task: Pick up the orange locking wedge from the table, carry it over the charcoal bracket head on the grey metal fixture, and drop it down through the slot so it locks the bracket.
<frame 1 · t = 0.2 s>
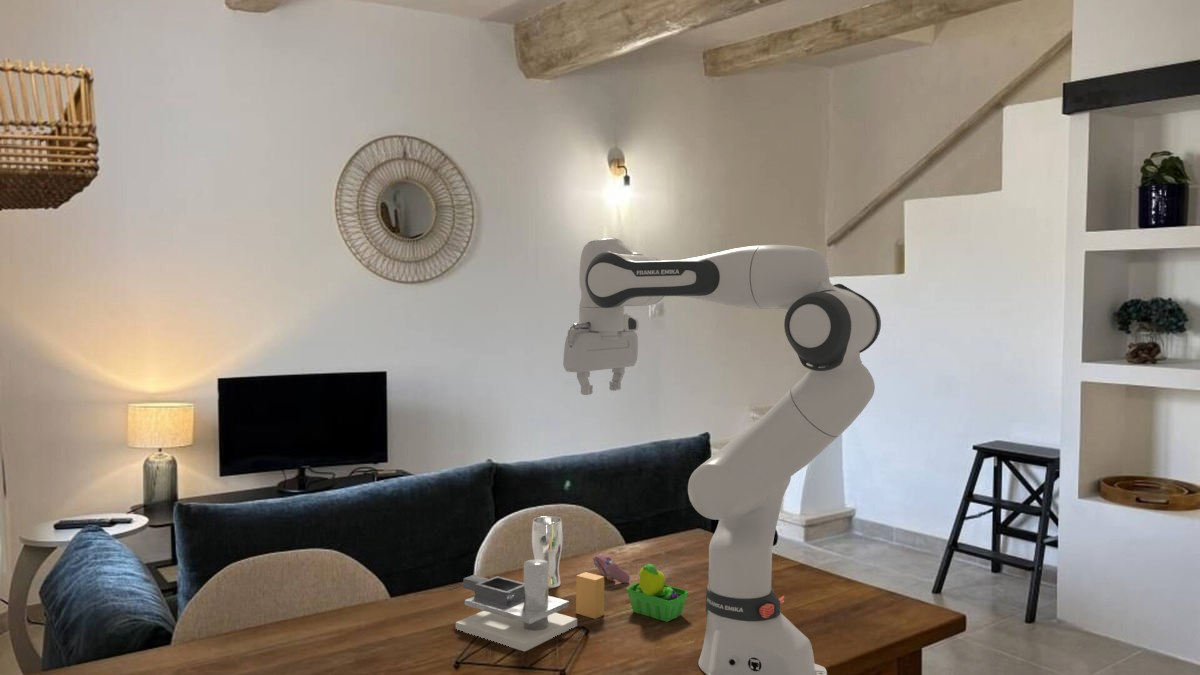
hand: (601, 392, 177), 47 cm above the table, tool pointing down, fingers open, 8 cm apart
locking wedge: (590, 613, 187), on the table
grey metal fixture: (507, 587, 180), on the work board, point 8 cm above the table
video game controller: (610, 579, 210), on the table
fruit basket: (655, 615, 187), on the table
beer glass: (547, 585, 205), on the table
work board: (516, 627, 179), on the table
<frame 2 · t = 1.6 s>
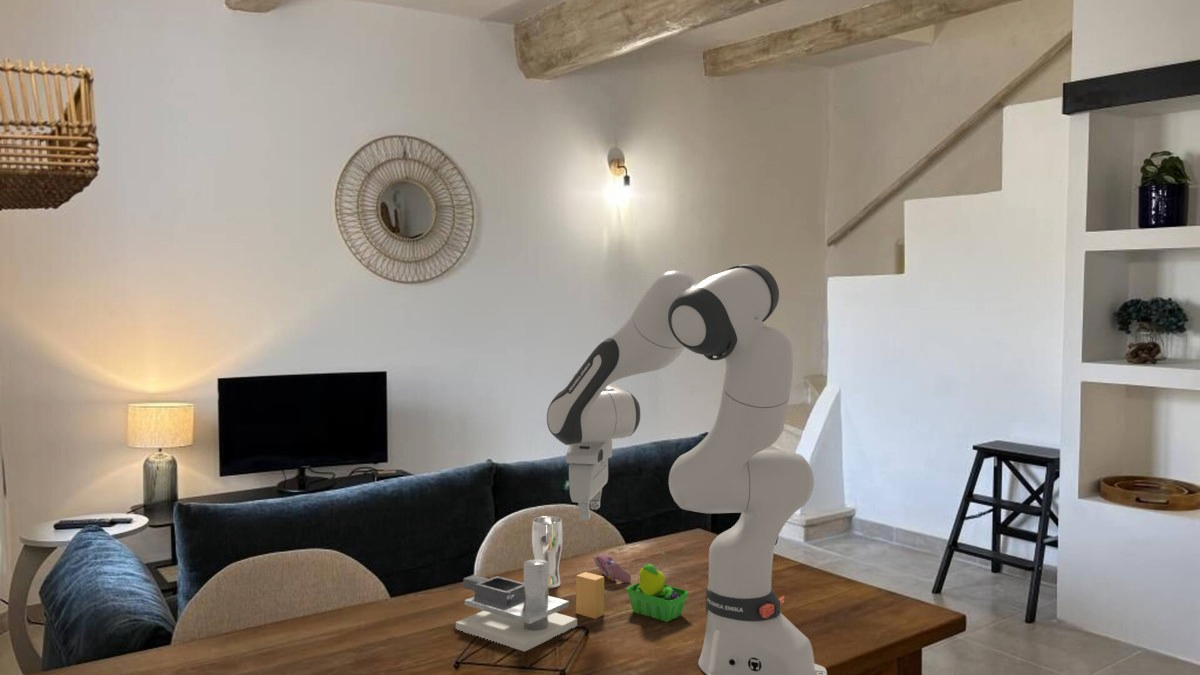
hand: (590, 514, 186), 21 cm above the table, tool pointing down, fingers open, 8 cm apart
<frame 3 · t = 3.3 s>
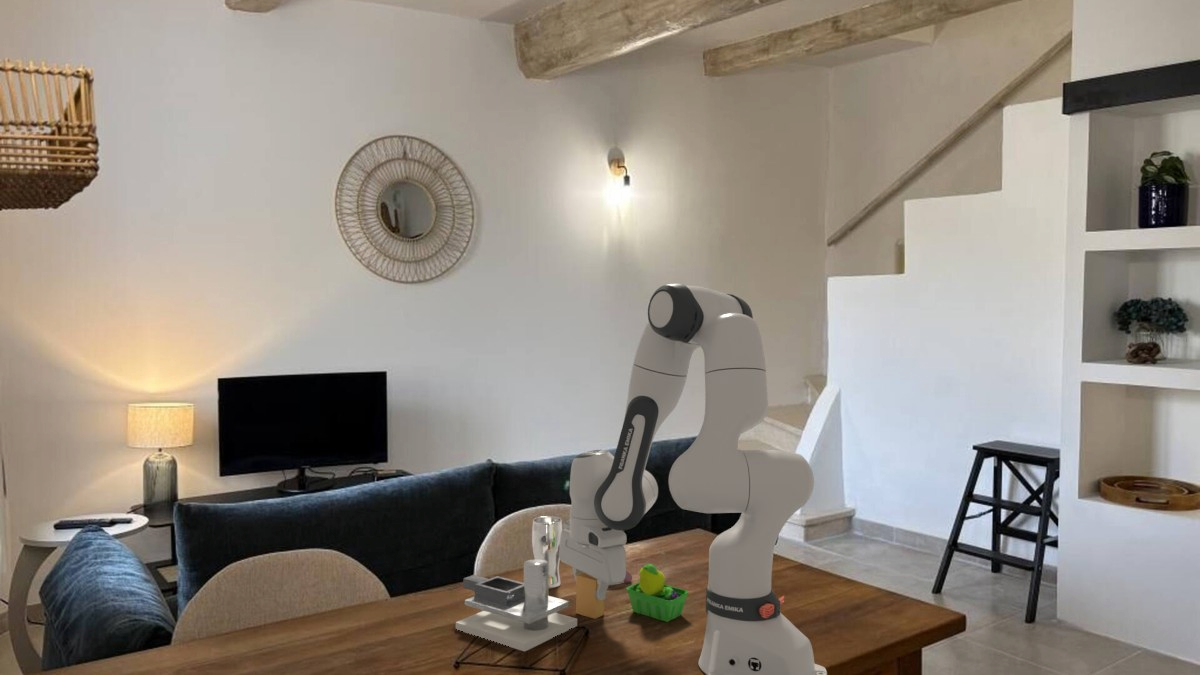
hand: (590, 593, 187), 4 cm above the table, tool pointing down, fingers closed on locking wedge, 6 cm apart
locking wedge: (590, 613, 187), on the table, touching gripper
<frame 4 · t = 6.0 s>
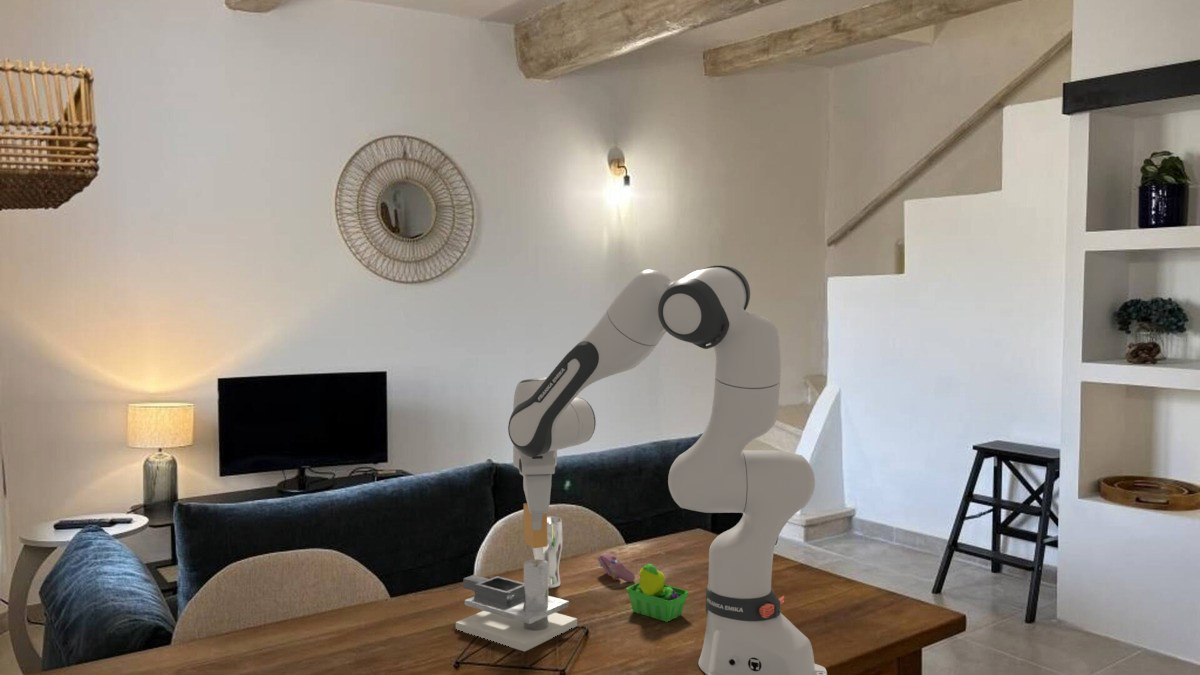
hand: (535, 524, 182), 20 cm above the table, tool pointing down, fingers closed on locking wedge, 6 cm apart
locking wedge: (535, 543, 183), point 16 cm above the table, touching gripper
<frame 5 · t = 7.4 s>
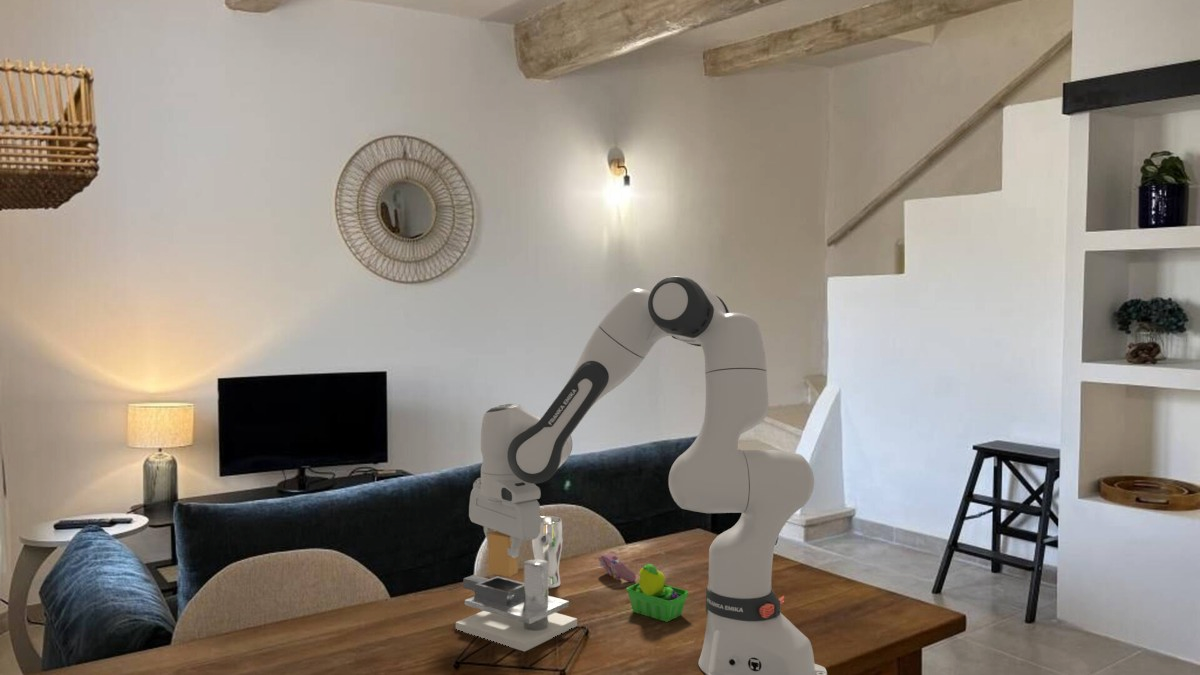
hand: (503, 552, 181), 14 cm above the table, tool pointing down, fingers closed on locking wedge, 6 cm apart
locking wedge: (503, 572, 181), point 10 cm above the table, touching gripper
when the fingers open (11 cm above the table, at t = 8.5 s): locking wedge drops 5 cm, resting on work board.
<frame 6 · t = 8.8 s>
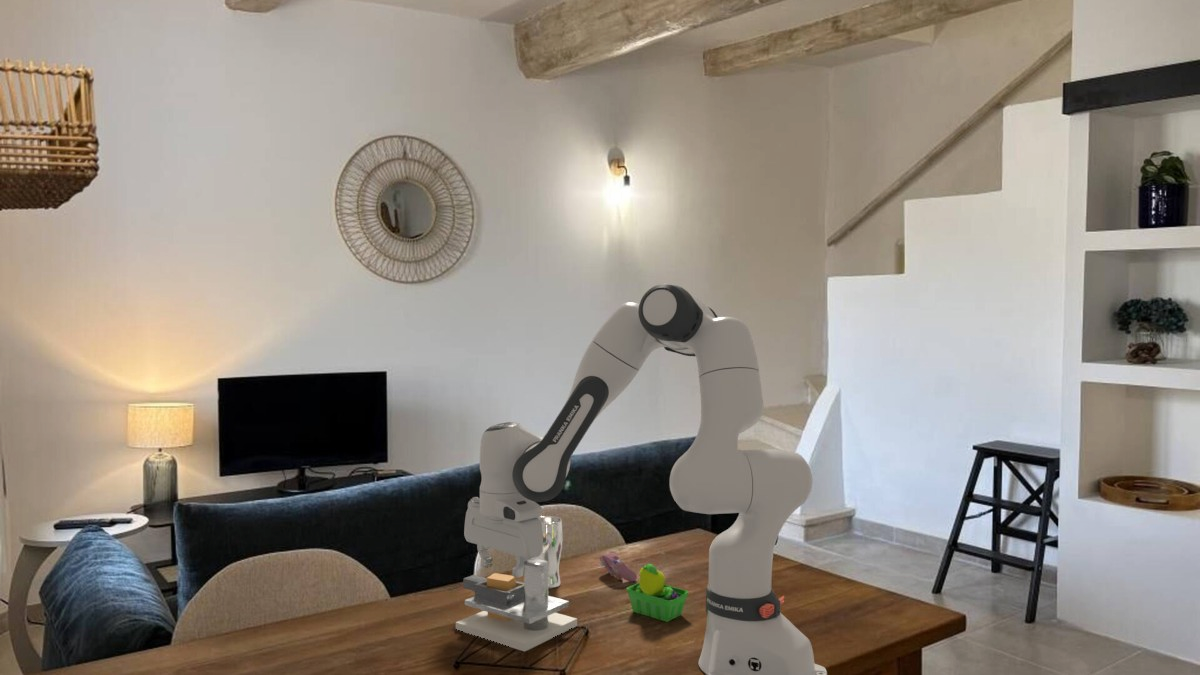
hand: (502, 571, 181), 11 cm above the table, tool pointing down, fingers open, 8 cm apart
locking wedge: (502, 615, 181), point 2 cm above the table, touching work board
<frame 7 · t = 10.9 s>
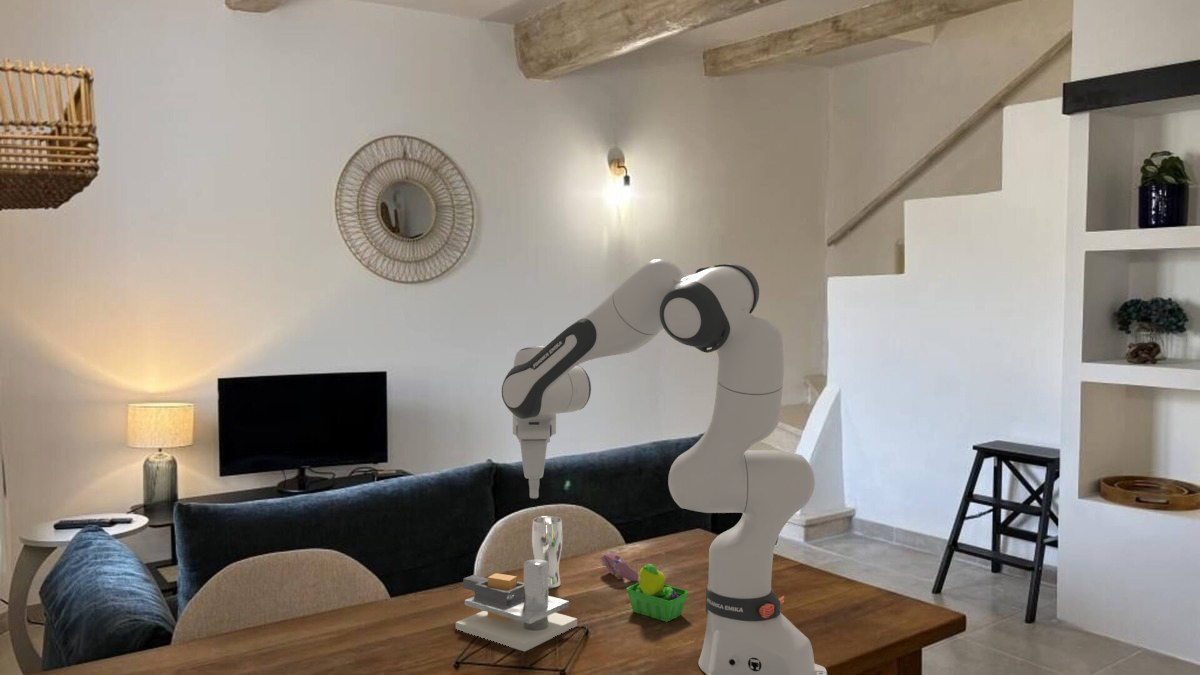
hand: (534, 492, 184), 26 cm above the table, tool pointing down, fingers open, 8 cm apart
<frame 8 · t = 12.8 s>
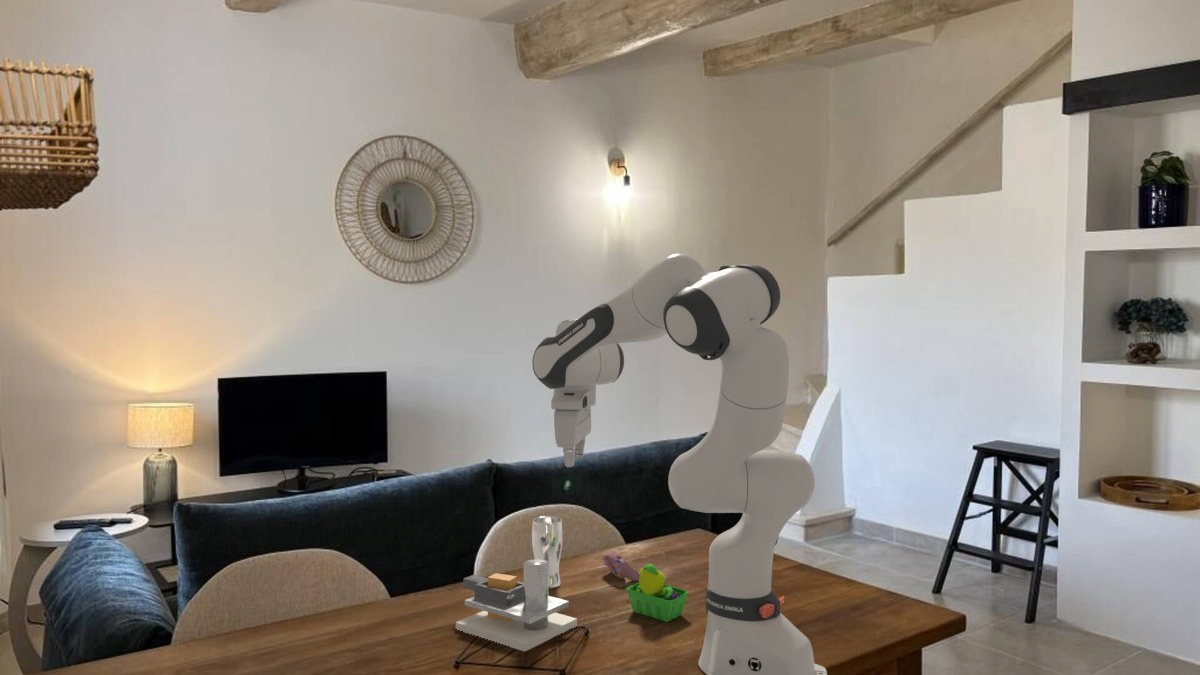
hand: (574, 461, 189), 31 cm above the table, tool pointing down, fingers open, 8 cm apart
at the end: locking wedge 0.1 cm from the target spot on the grey metal fixture, point 1.5 cm above the grey metal fixture's base; locking wedge tilted 0°; the gripper is holding nothing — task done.
